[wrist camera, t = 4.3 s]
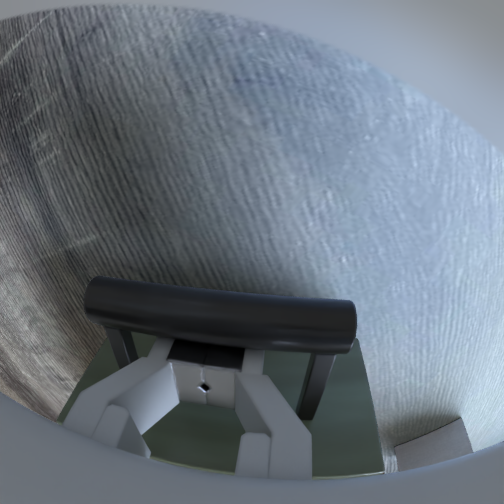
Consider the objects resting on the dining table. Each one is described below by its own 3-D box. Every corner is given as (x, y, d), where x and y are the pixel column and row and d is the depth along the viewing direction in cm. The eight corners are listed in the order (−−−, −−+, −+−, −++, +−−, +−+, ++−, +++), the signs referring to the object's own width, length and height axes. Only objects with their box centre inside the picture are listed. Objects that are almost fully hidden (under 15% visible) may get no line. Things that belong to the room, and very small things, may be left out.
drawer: (103, 220, 11) (-11, 316, 5) (386, 240, 10) (468, 378, 4) (165, 438, 19) (144, 507, 13) (307, 455, 19) (306, 529, 13)
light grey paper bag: (394, 447, 20) (407, 539, 11) (461, 417, 17) (487, 507, 9) (400, 457, 21) (411, 539, 12) (460, 430, 19) (482, 511, 10)
